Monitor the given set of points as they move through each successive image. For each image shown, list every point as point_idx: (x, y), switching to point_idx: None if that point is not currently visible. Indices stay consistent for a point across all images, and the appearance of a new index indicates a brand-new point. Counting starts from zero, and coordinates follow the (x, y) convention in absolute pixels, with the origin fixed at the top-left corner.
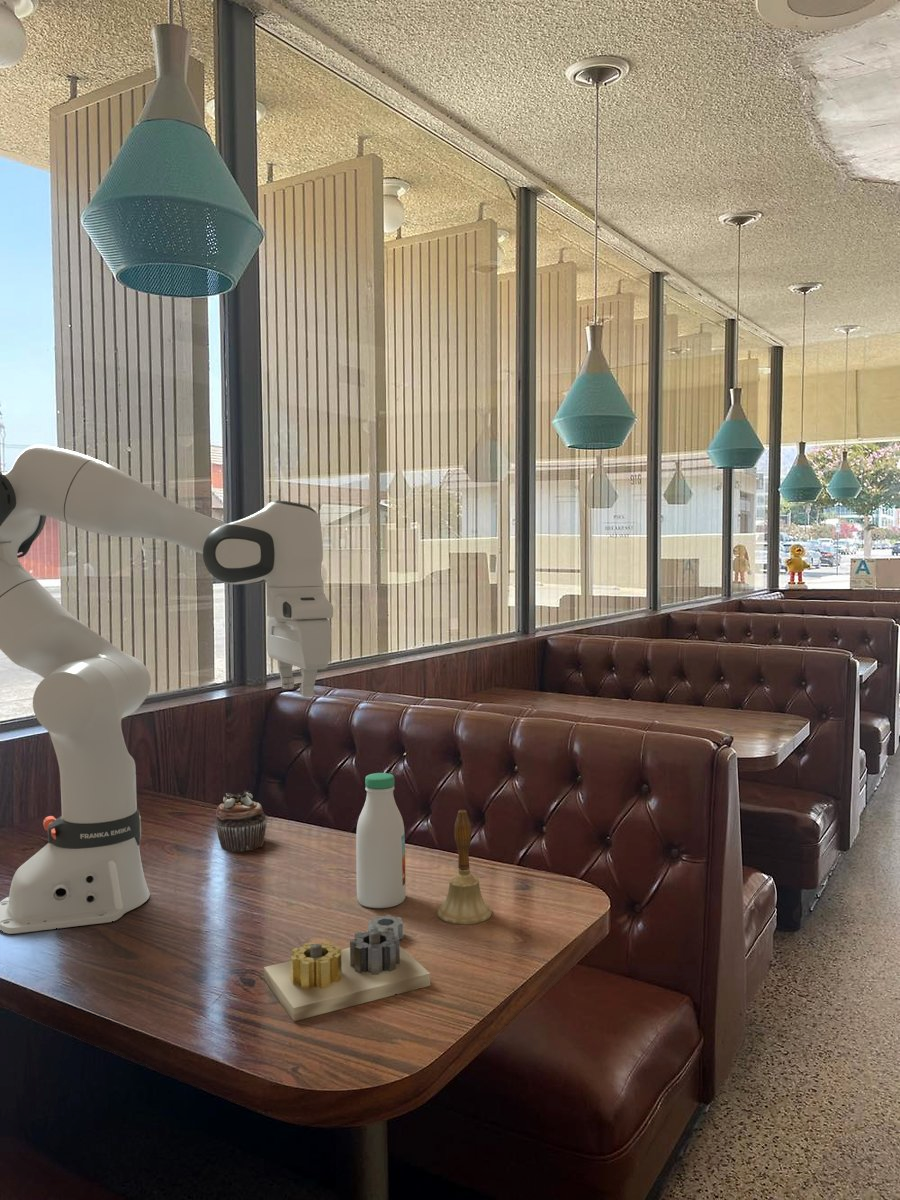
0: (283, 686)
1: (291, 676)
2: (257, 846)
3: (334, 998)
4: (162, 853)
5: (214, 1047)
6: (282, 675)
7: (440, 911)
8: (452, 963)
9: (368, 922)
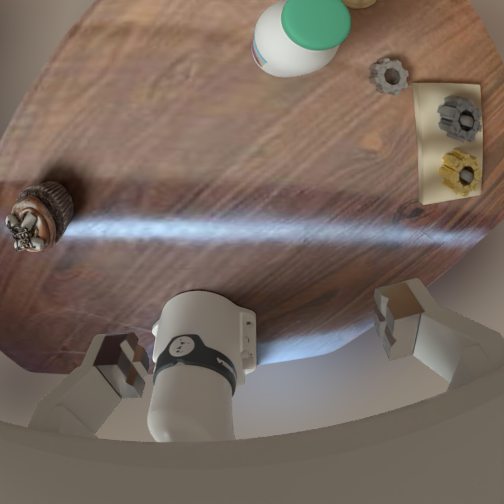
0: (145, 369)
1: (96, 372)
2: (64, 188)
3: (481, 164)
4: (78, 281)
5: (473, 239)
6: (114, 404)
7: (352, 4)
8: (449, 48)
9: (387, 93)
